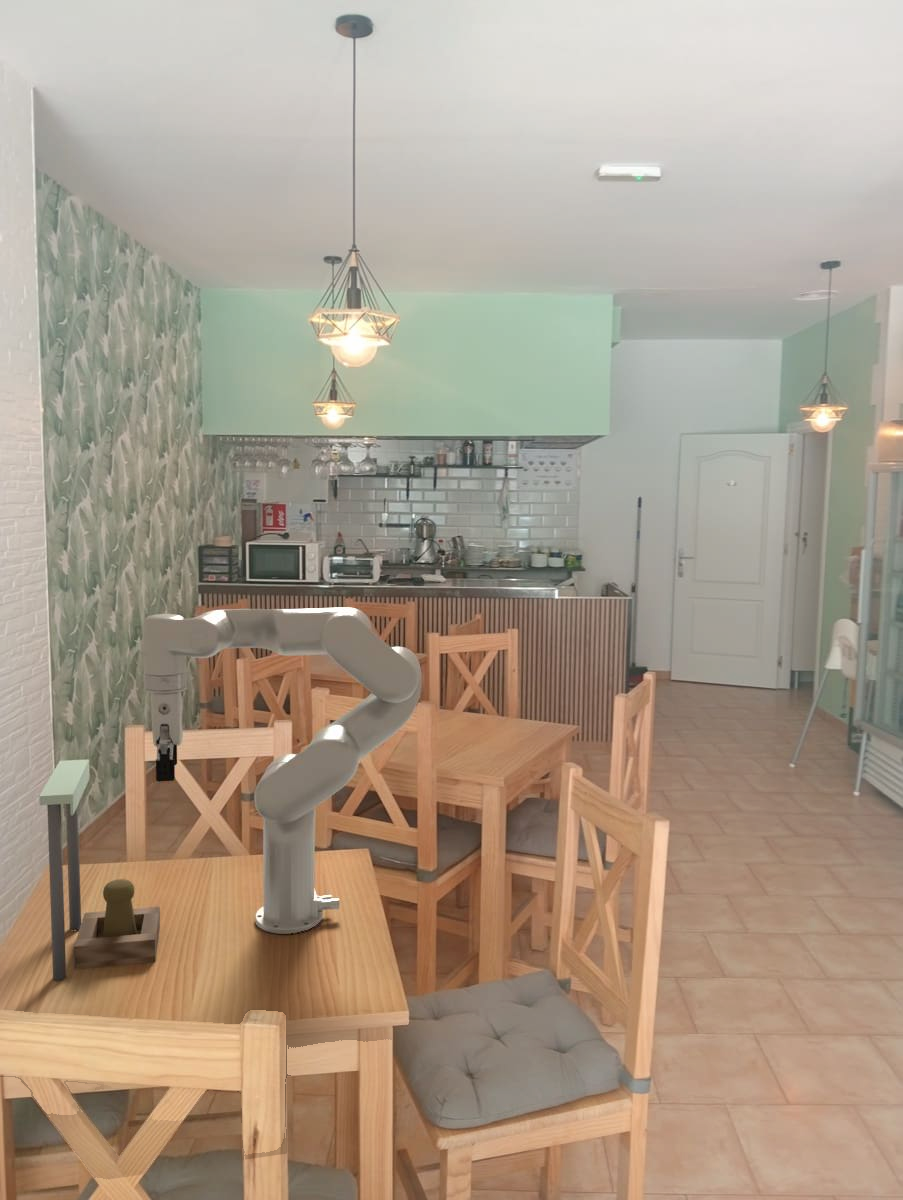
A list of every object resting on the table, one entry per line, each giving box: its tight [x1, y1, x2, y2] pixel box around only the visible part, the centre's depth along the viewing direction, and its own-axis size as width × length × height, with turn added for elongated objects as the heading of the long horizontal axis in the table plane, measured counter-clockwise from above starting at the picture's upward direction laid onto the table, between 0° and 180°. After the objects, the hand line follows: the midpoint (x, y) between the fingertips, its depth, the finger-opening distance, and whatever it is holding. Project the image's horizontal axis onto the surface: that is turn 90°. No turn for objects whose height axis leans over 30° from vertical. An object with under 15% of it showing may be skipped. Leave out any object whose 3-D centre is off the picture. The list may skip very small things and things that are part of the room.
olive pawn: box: [102, 878, 137, 937], centre depth 167 cm, size 6×6×11 cm
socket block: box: [73, 906, 161, 970], centre depth 167 cm, size 13×13×4 cm
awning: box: [39, 759, 91, 982], centre depth 164 cm, size 5×20×32 cm, turn 14°
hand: (166, 772), depth 176 cm, fingers open, 9 cm apart
